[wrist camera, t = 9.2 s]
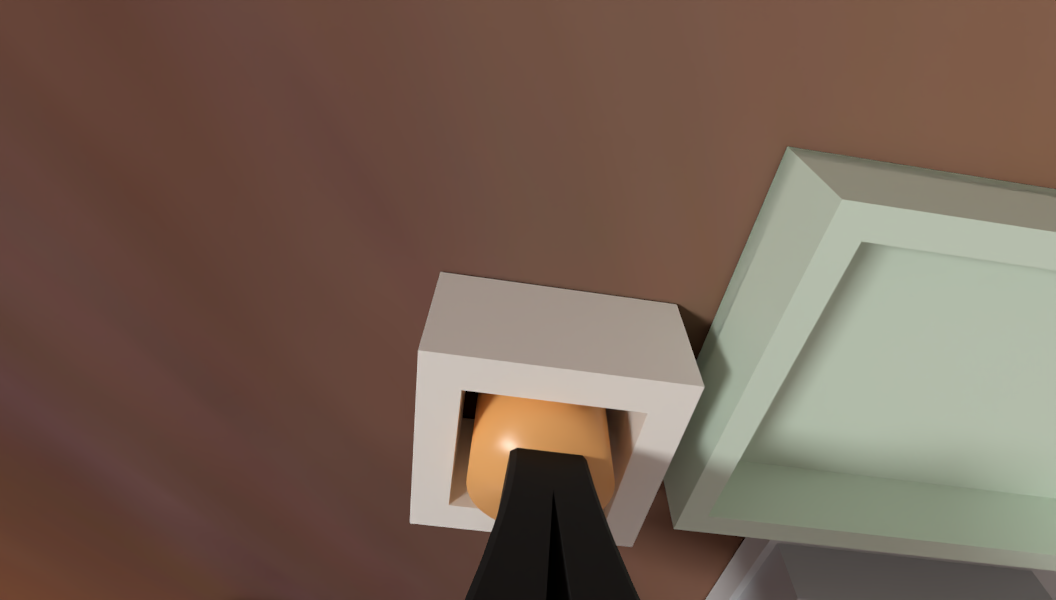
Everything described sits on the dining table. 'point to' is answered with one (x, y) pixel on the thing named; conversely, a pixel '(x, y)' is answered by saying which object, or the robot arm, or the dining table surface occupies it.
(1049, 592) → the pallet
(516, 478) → the robot arm
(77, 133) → the dining table surface
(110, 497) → the dining table surface
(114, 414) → the dining table surface
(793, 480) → the tray
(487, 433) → the button cap
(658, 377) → the button housing
